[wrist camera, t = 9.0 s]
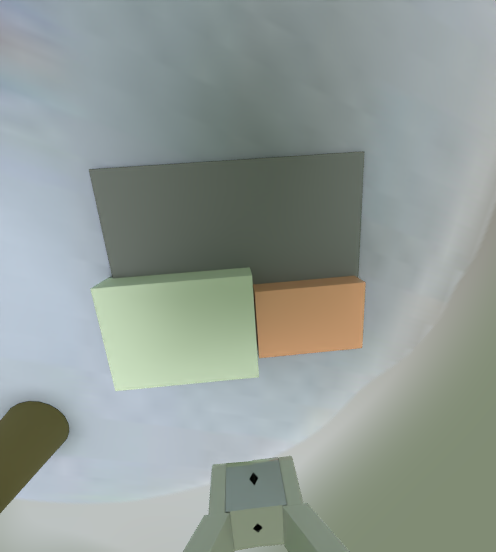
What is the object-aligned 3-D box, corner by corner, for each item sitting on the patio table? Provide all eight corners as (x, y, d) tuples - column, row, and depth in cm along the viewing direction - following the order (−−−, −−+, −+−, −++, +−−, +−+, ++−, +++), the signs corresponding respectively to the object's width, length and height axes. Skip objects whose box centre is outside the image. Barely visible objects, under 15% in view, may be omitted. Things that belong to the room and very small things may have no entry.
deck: (108, 277, 22) (90, 288, 19) (249, 266, 23) (252, 275, 20) (128, 369, 25) (115, 391, 22) (255, 357, 25) (258, 377, 22)
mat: (91, 170, 20) (88, 169, 20) (361, 152, 21) (364, 151, 20) (131, 354, 24) (129, 357, 24) (353, 334, 25) (355, 336, 25)
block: (252, 284, 23) (254, 292, 21) (354, 275, 23) (365, 282, 21) (257, 345, 25) (259, 358, 23) (352, 336, 25) (362, 347, 23)
